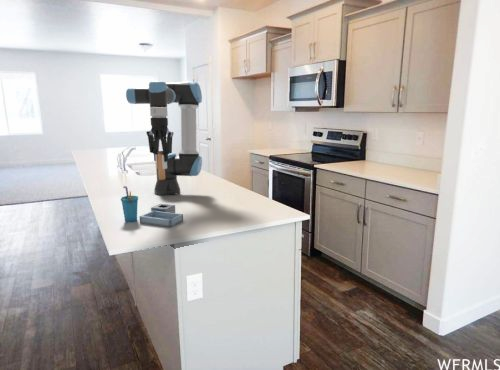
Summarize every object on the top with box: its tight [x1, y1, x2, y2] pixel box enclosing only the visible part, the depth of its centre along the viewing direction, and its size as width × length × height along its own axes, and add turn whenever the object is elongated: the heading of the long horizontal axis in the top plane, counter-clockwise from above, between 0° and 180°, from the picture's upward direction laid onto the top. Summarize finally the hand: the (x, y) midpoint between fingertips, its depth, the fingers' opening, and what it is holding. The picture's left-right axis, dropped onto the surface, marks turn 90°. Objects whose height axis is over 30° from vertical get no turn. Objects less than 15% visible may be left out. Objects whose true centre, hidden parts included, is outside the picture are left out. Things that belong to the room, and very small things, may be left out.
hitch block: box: [150, 203, 176, 213], centre depth 172 cm, size 8×8×4 cm
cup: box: [120, 185, 139, 223], centre depth 162 cm, size 14×8×15 cm, turn 34°
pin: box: [157, 150, 165, 180], centre depth 167 cm, size 3×3×13 cm
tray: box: [138, 210, 184, 228], centre depth 160 cm, size 16×10×3 cm, turn 68°
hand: (161, 168), depth 168 cm, fingers closed on pin, 3 cm apart
